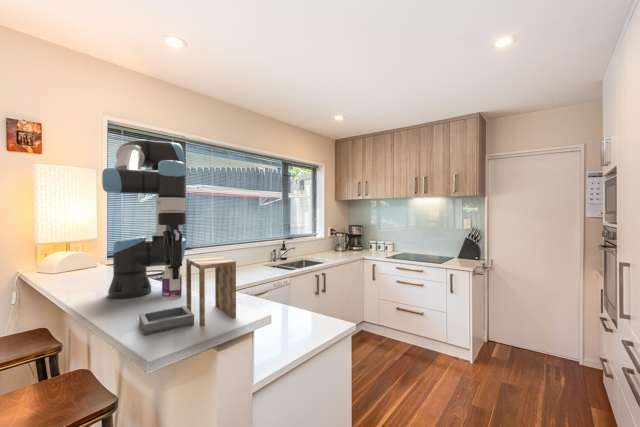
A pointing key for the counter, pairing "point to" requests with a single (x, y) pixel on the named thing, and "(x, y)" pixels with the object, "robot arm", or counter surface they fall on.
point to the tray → (165, 320)
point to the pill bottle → (166, 291)
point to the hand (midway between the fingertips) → (172, 287)
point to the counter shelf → (223, 284)
